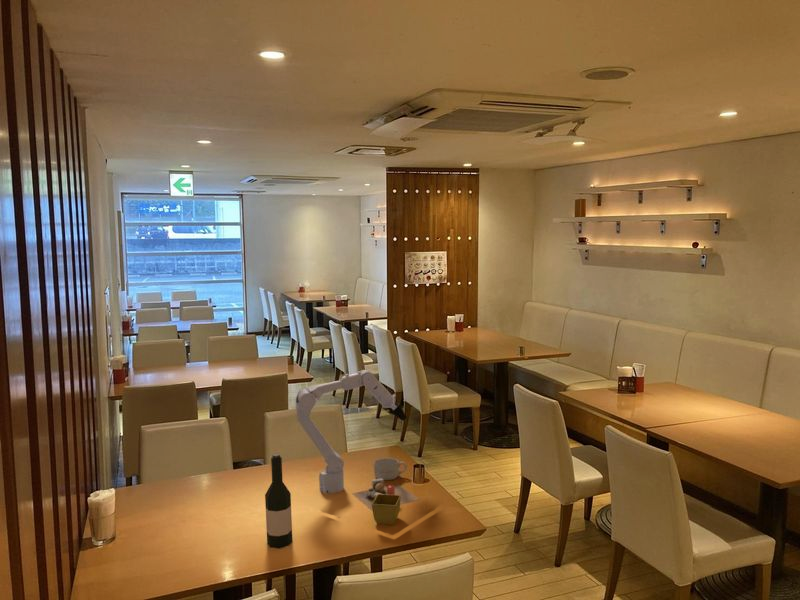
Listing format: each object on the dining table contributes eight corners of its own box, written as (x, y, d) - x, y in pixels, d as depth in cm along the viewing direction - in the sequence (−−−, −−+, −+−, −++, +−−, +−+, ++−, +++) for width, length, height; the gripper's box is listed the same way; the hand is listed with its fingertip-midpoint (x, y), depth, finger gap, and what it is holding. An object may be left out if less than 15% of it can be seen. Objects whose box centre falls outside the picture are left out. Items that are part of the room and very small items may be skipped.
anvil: (373, 491, 240) (372, 481, 240) (371, 489, 242) (371, 479, 242) (383, 489, 242) (383, 479, 241) (382, 487, 244) (382, 478, 243)
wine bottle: (281, 534, 208) (278, 449, 205) (297, 541, 202) (294, 453, 200) (261, 543, 201) (258, 455, 199) (278, 551, 196) (274, 460, 194)
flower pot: (396, 530, 208) (395, 505, 208) (372, 528, 210) (371, 503, 210) (401, 519, 217) (401, 495, 216) (378, 517, 219) (377, 493, 218)
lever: (364, 496, 234) (364, 481, 234) (370, 493, 237) (369, 478, 237) (391, 504, 226) (391, 488, 226) (397, 500, 229) (396, 486, 229)
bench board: (372, 514, 222) (372, 510, 222) (352, 496, 239) (351, 493, 239) (419, 502, 231) (419, 499, 231) (397, 486, 248) (396, 482, 248)
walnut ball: (377, 494, 237) (377, 485, 236) (373, 491, 240) (373, 482, 240) (386, 492, 238) (385, 484, 238) (382, 489, 242) (381, 481, 241)
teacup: (370, 483, 252) (369, 464, 252) (378, 473, 263) (378, 455, 262) (402, 485, 248) (401, 466, 248) (409, 476, 259) (409, 458, 258)
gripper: (392, 390, 240) (414, 414, 244) (383, 383, 254) (404, 405, 258) (379, 403, 239) (401, 426, 243) (371, 394, 253) (392, 417, 257)
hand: (402, 416), depth 250 cm, fingers open, 7 cm apart
